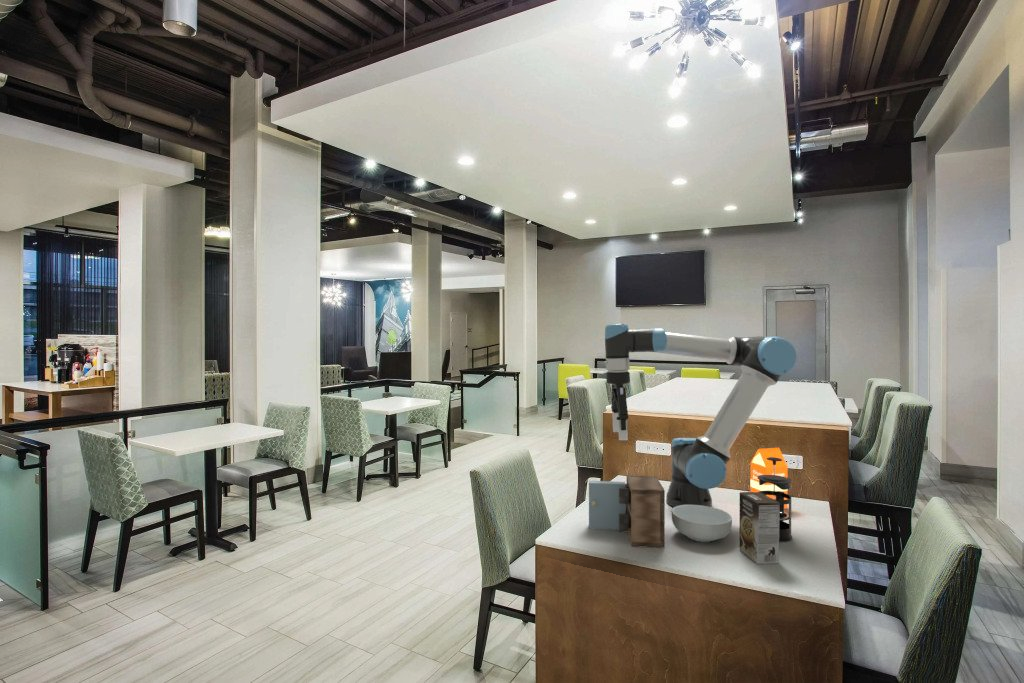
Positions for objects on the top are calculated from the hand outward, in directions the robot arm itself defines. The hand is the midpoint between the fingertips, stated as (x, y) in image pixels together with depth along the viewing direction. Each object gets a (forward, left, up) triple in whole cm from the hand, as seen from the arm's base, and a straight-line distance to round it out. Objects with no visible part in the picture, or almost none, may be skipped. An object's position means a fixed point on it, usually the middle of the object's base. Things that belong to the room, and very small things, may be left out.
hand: (620, 436), depth 168 cm
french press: (-44, +11, -27) cm, 53 cm away
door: (+5, +10, -26) cm, 29 cm away
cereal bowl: (-22, +15, -27) cm, 38 cm away
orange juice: (-52, -16, -27) cm, 61 cm away
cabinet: (-4, +16, -26) cm, 31 cm away
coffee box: (-34, +27, -27) cm, 51 cm away
